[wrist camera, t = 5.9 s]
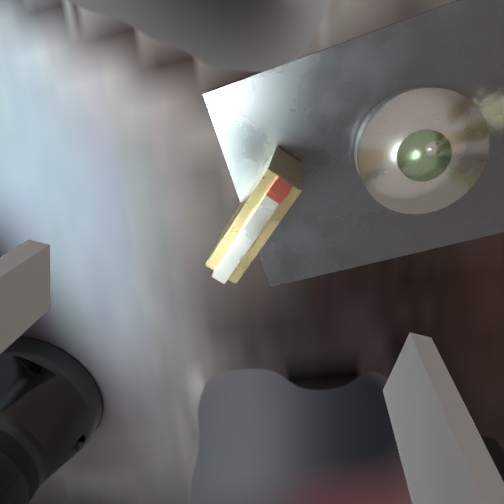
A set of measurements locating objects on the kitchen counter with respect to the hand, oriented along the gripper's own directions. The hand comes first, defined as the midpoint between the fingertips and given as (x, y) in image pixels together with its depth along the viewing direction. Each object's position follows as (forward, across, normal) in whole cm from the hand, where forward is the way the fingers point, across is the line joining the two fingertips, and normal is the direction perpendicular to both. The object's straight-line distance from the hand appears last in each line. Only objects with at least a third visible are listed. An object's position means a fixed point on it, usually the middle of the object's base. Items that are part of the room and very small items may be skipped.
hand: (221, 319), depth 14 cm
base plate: (+18, -10, -6) cm, 22 cm away
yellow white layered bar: (+17, 0, 0) cm, 17 cm away
